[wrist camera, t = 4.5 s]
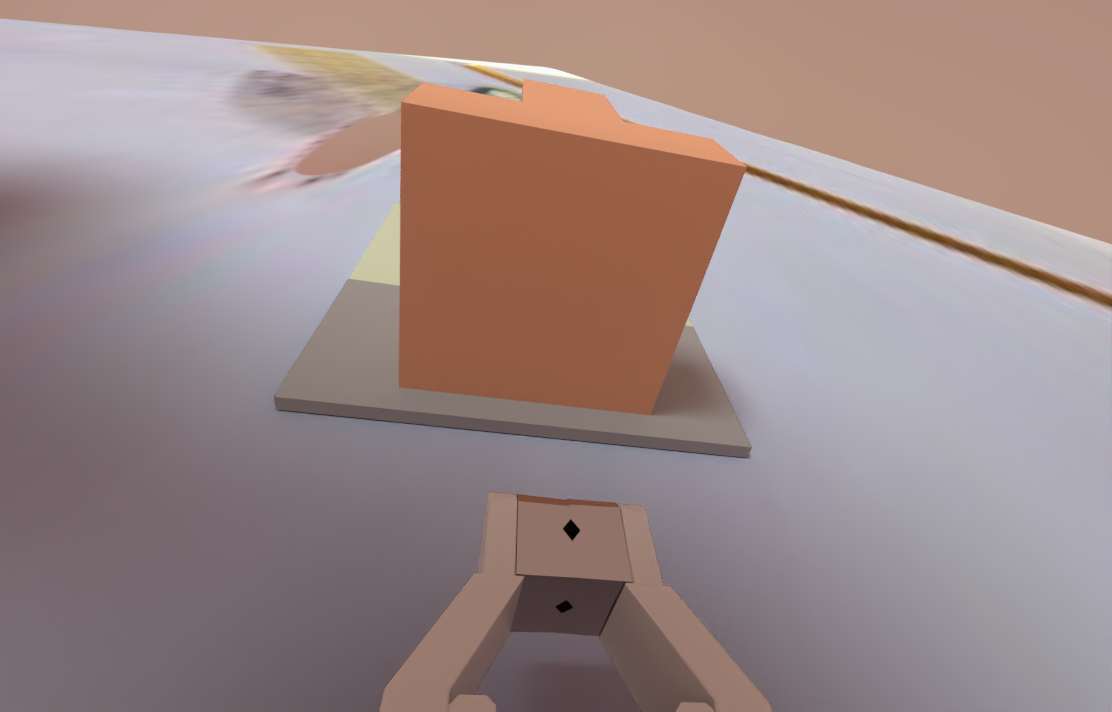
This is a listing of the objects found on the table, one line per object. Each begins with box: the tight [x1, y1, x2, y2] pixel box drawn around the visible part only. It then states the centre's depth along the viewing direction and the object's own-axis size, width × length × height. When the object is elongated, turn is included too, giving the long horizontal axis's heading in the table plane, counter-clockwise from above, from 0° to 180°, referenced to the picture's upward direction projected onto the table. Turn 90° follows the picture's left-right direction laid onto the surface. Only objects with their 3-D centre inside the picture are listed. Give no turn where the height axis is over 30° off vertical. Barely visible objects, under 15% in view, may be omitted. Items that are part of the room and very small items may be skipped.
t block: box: [399, 79, 747, 415], centre depth 21 cm, size 10×9×10 cm
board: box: [274, 203, 752, 458], centre depth 27 cm, size 18×20×1 cm
